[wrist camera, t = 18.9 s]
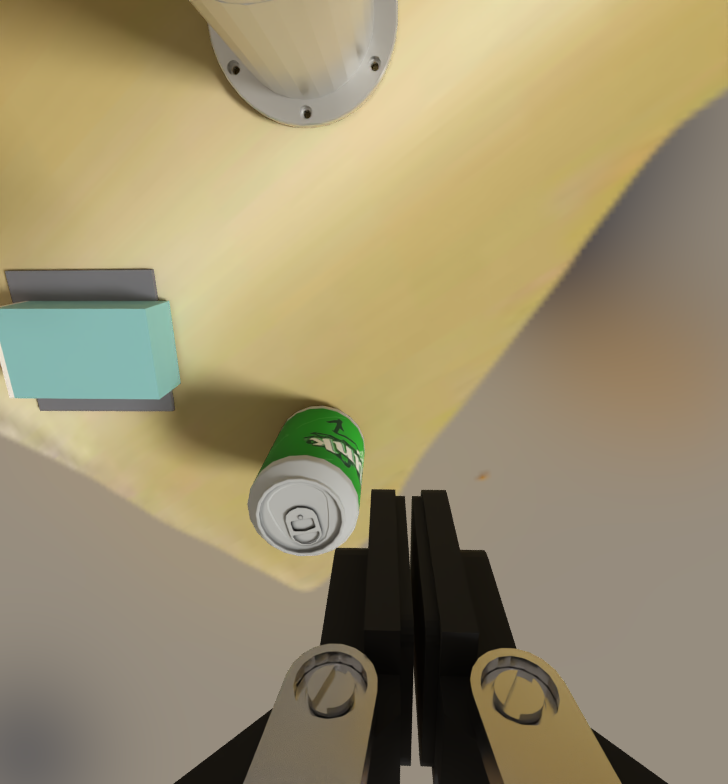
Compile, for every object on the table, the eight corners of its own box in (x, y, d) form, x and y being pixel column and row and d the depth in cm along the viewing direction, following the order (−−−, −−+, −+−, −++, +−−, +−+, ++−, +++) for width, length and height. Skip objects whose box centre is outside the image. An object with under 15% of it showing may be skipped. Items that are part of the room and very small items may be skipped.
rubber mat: (8, 270, 38) (4, 271, 38) (153, 269, 38) (151, 269, 37) (43, 409, 42) (40, 410, 42) (174, 409, 42) (173, 411, 41)
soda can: (294, 484, 44) (262, 574, 32) (270, 410, 41) (227, 479, 30) (373, 469, 43) (369, 556, 31) (354, 393, 40) (342, 457, 29)
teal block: (169, 300, 38) (25, 301, 39) (145, 308, 34) (-15, 308, 35) (180, 383, 40) (44, 382, 41) (159, 399, 37) (9, 398, 37)
